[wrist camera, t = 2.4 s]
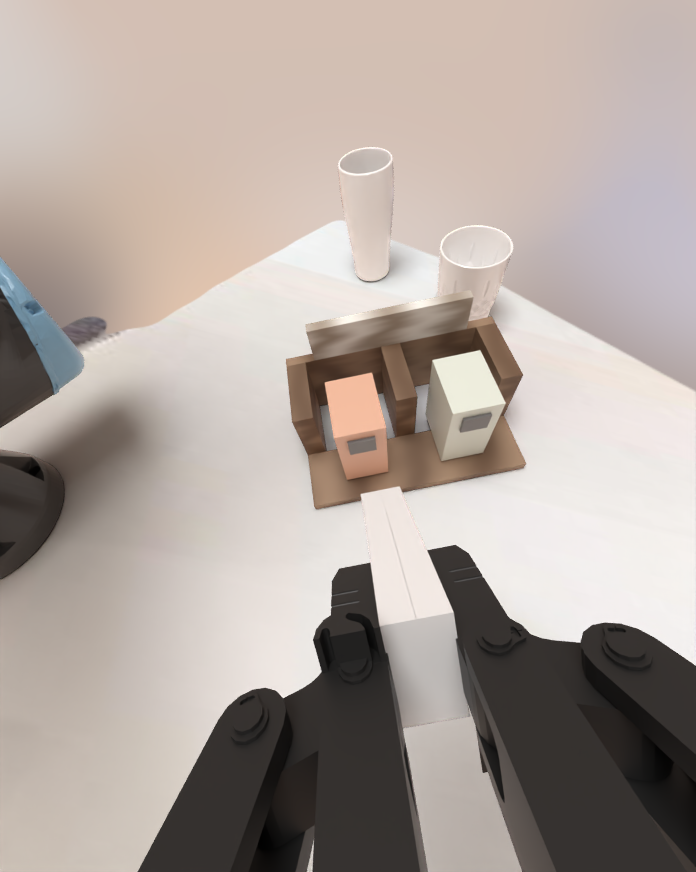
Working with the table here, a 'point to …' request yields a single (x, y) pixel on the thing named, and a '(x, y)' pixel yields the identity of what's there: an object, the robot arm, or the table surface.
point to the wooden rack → (398, 392)
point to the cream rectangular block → (462, 404)
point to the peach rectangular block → (358, 425)
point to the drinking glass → (368, 208)
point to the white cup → (474, 265)
